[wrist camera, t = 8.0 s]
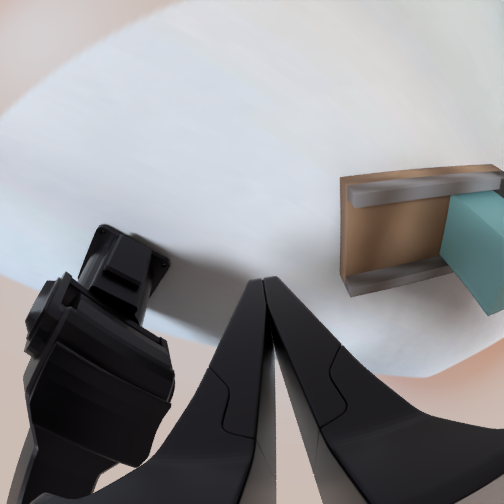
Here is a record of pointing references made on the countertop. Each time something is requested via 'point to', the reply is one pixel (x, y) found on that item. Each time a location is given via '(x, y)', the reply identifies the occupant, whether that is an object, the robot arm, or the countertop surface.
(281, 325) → the robot arm
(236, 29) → the countertop surface
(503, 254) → the teal rectangular block
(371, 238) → the track
